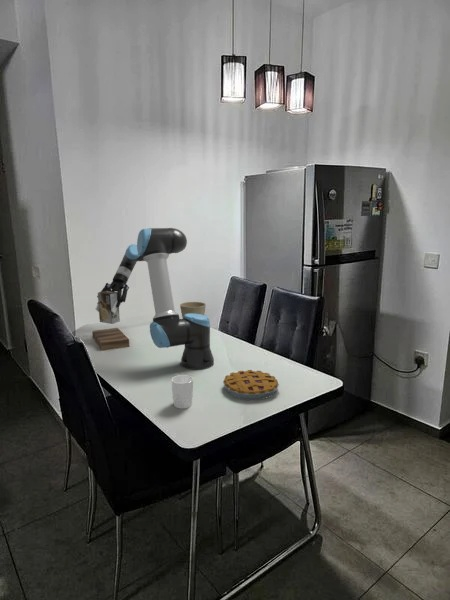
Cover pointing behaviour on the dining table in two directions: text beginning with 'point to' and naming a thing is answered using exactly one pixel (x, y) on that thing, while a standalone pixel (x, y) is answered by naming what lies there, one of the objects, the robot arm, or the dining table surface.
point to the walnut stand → (110, 339)
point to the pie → (250, 384)
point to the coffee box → (108, 307)
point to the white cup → (182, 391)
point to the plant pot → (192, 308)
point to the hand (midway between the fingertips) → (105, 311)
